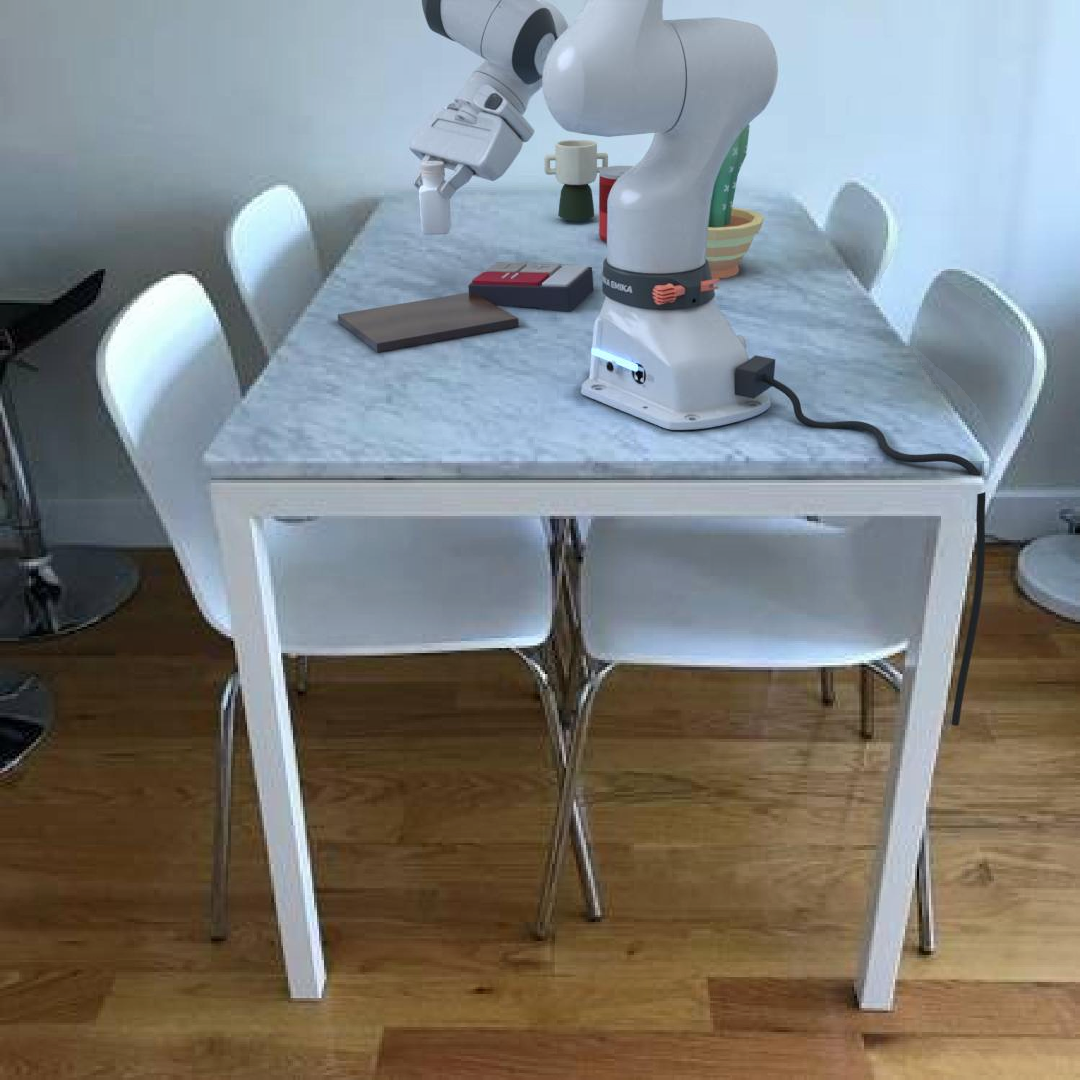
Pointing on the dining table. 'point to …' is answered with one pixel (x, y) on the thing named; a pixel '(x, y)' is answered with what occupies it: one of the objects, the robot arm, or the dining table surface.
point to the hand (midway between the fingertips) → (430, 191)
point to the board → (426, 321)
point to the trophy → (576, 176)
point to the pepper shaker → (433, 200)
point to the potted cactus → (730, 216)
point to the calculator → (534, 285)
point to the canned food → (607, 193)
